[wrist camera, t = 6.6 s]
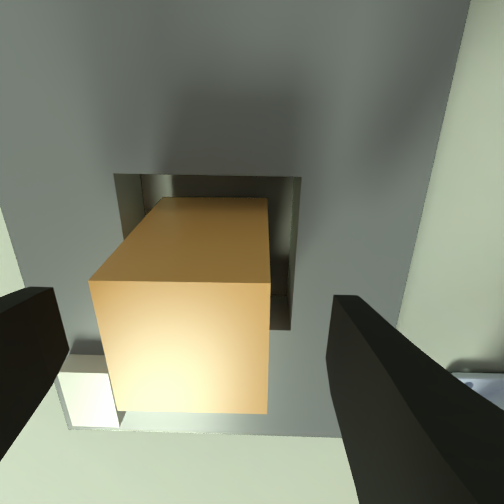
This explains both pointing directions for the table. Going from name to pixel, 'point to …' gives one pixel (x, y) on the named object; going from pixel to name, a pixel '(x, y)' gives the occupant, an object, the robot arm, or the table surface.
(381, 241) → the socket plate
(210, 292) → the plug
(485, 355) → the table surface
